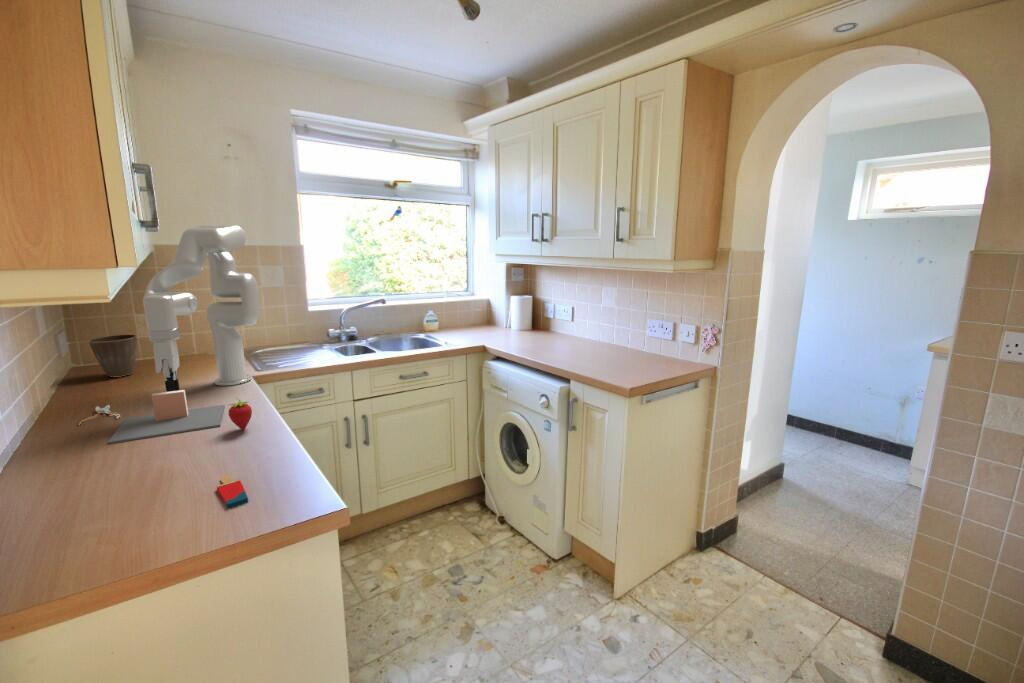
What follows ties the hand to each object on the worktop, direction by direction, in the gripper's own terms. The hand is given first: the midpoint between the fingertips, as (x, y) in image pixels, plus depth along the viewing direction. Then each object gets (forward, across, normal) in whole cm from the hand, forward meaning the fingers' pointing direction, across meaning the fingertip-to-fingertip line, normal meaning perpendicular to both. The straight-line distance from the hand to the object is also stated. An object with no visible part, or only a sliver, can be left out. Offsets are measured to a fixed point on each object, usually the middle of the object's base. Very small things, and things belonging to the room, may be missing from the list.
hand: (173, 391), depth 146 cm
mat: (+8, +9, 0) cm, 11 cm away
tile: (+7, +5, 0) cm, 8 cm away
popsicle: (+8, +63, +18) cm, 66 cm away
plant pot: (+8, -65, -28) cm, 71 cm away
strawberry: (+8, +25, +19) cm, 32 cm away
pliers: (+8, -10, -21) cm, 25 cm away
